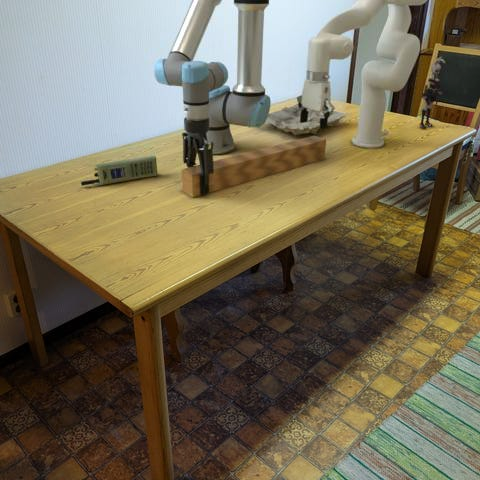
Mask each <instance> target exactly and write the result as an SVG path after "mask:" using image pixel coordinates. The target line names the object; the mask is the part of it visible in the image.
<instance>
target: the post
mask: <svg viewBox="0 0 480 480" xmlns="http://www.w3.org/2000/svg"><path fill="white" fill-rule="evenodd" d="M326 145H327V139H325V138H323V137H320V136H317V135H310V136H307V137H304V138H299V139H296V140H292V141H287V142H283V143H280V144H275V145H271V146H267V147H264V148H260V149H256V150H252V151H248V152H245V153H244V152H243V153H240V154H236V155H232V156H228V157H224V158H221V159H217V160H213V167H214V173H213V174H209V193H213V192H216V191H220V190H223V189H227V188H229V187H233V186H238V185H241V184H243V183H247V182H250V181H254V180H257V179H261V178H264V177H267V176H271V175H274V174H277V173H280V172H285V171H289V170H291V169H296V168H298V167H301V166H305V165H308V164H312V163H316V162H319V161H322V160H325V155H326V147H327V146H326ZM200 174H202V173H201V168H200V164H197V165H194V166H193V167H189V168H188V167H185V168H182V169H181V187H182V192H183V193H185V194H186V195H187V196H190V197H191V198H196V197H199V196H202V195H201V193H200ZM209 193H208V194H209Z"/></svg>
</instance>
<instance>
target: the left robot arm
mask: <svg viewBox="0 0 480 480" xmlns="http://www.w3.org/2000/svg"><path fill="white" fill-rule="evenodd" d="M222 1H223V0H191V2H190V5H189V7H188V9H187V10H186V11H187V12H186V13H185V16H184V18H183V20H182V23H181V25H180V28H179V30H178V32H177V35H176V37H175V39H174V41H173V44H172V47H171V49H170V51H169V53H168V55H167V57H166V58H160V59H158V60H157V61H156V62H155V64H154V66H153V67H154V69H153V73H154V79H155V80H156V82H157V83H158V84H160V85H165V86H169V87H171V86H172V87H181V88H182V103H183V105H182V106H183V108H182V111H183V130H184V131H185V132H182V133H181V137H182V161H183V164H185V165H186V168H189V167H193V166H196V165H198V164H197V163H196V160H197V157H198V162H199V165H200V168H201V173H202V174H200V193H201V195H200V196H203V195H207V194H209V174H213V173H214V167H213V161H214V155H225V154H228V153H232V152H233V151H234V150H235V140H234V138H233V135H232V132H231V128H230V127H231V125H232V126H233V125H234V126H241V127H247V128H254V129H255V128H261V127H263V126H264V124H265V123H266V122H265V121H266V119H267V117H268V115H269V114H270V111H271V103H272V102H271V97H270V95H268V94H266V88H265V87H264V85H263V84H262V76H263V75H262V74H263V49H264V25H265V24H264V23H265V10H266V9H267V8H268V6H269V5H270V0H233V5H234V6H235V7H236V8H237V58H236V59H237V60H236V61H237V63H236V66H237V67H236V84H235V85H233V87H232V91H231V88H230V86H229V85H225V84H227V82H228V79H229V70H228V68H227V66H226V65H225V64H224V63H223V62H220V61H211V62H209V63H207V62H205V61H203V60H194V59H195V57H196V54H197V52H198V50H199V47H200V45H201V42H202V40H203V38H204V36H205V33H206V30H207V29H208V26H209V23H210V22H211V19H212V16H213V14H214V11H215V9H216V7H218V6H219V5H220V4H221V3H222Z"/></svg>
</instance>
